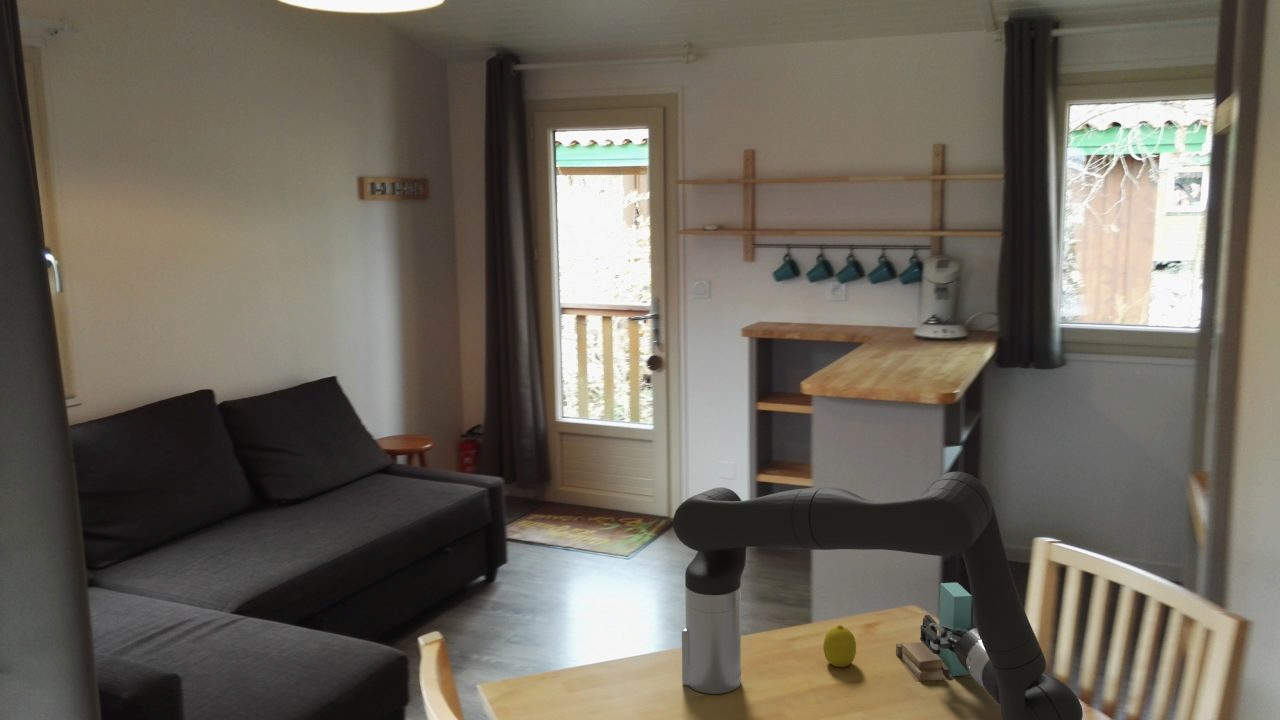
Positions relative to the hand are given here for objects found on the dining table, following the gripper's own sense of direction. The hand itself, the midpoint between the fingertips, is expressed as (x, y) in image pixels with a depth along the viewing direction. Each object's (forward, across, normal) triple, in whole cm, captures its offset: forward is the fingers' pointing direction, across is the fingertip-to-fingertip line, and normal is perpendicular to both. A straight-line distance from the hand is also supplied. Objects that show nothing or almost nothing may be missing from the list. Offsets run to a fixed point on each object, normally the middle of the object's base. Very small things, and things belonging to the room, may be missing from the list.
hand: (950, 618), depth 172 cm
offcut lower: (-2, +6, +8) cm, 10 cm away
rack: (-1, 0, +9) cm, 9 cm away
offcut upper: (-1, +5, +6) cm, 9 cm away
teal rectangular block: (-2, 0, +8) cm, 8 cm away
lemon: (+2, +19, +9) cm, 21 cm away
